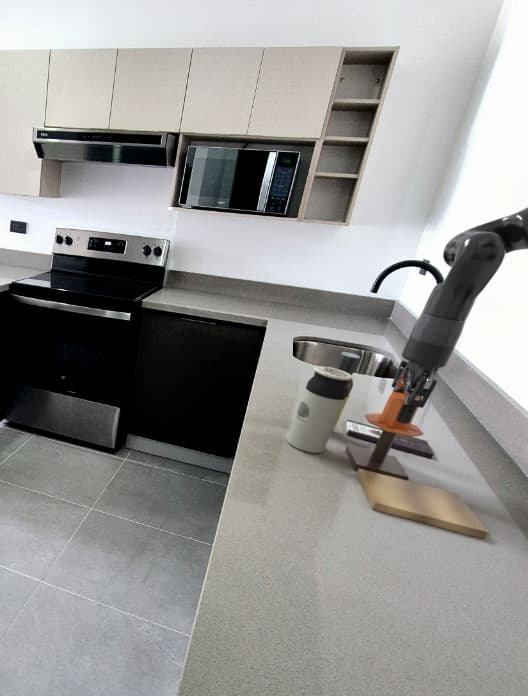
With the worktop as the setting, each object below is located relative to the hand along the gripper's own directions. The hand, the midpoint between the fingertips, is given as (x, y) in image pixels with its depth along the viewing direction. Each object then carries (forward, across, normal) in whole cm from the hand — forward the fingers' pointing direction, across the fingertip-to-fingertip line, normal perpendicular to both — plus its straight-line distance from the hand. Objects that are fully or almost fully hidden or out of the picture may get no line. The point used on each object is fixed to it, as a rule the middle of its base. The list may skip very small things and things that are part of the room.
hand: (397, 416), depth 104 cm
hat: (+2, 0, 0) cm, 2 cm away
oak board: (+12, -14, -4) cm, 19 cm away
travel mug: (+12, +2, +14) cm, 19 cm away
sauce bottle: (+12, +15, +9) cm, 21 cm away
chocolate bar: (+12, +19, -7) cm, 24 cm away
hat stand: (+12, 0, 0) cm, 12 cm away
